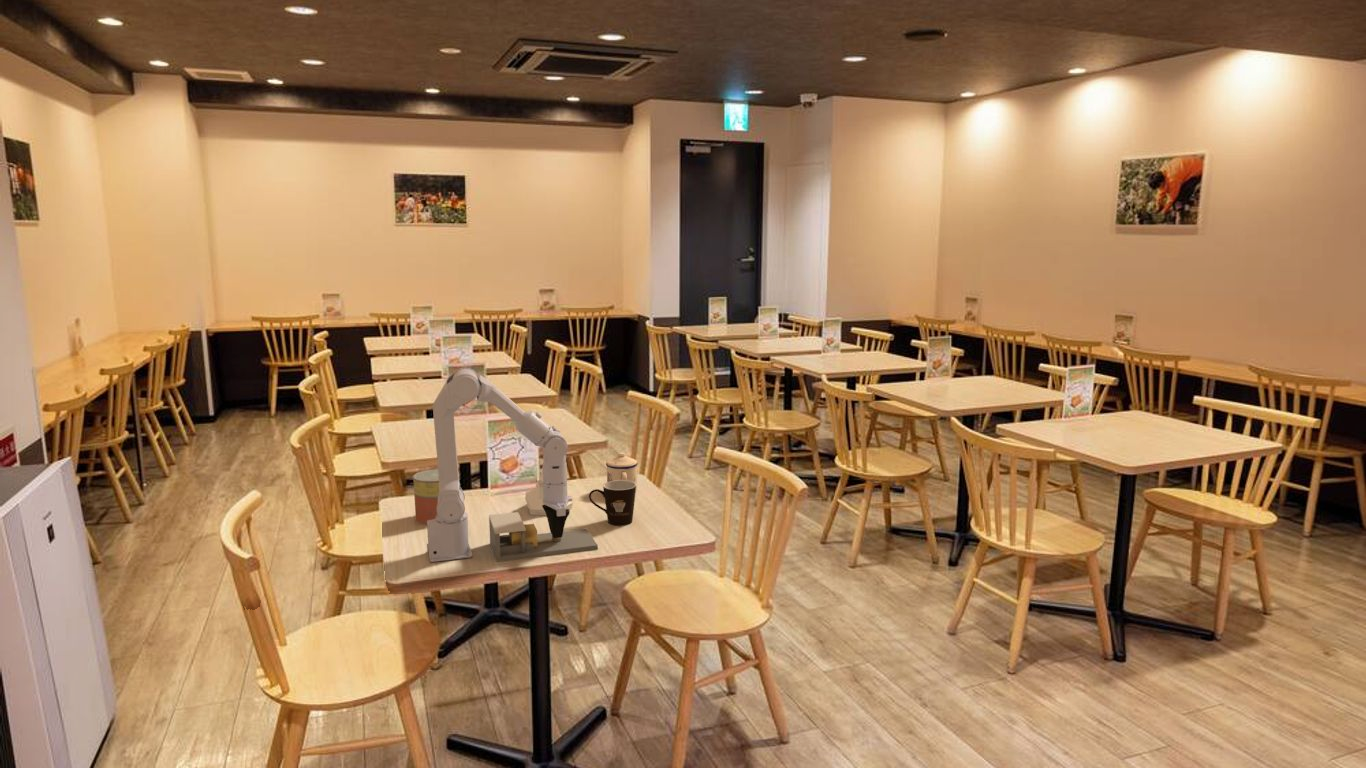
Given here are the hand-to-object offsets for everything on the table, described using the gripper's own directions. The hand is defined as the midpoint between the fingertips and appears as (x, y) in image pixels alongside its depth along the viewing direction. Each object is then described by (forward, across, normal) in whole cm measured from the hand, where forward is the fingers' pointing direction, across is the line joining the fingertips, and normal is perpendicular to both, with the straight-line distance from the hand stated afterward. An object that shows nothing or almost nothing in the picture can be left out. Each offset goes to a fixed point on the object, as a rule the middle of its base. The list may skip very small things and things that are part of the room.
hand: (556, 535), depth 208 cm
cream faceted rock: (+3, +28, -4) cm, 28 cm away
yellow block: (+1, 0, +5) cm, 5 cm away
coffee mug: (+3, +12, -18) cm, 22 cm away
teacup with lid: (+3, +34, -26) cm, 43 cm away
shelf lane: (+2, 0, +3) cm, 4 cm away
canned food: (+3, +29, +26) cm, 39 cm away
